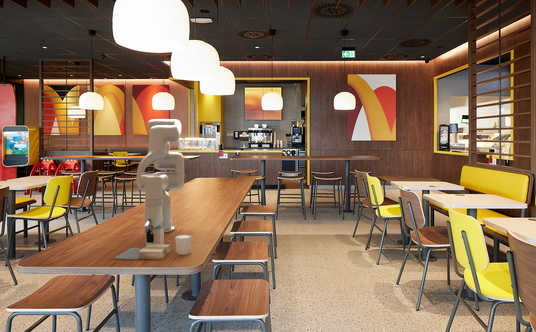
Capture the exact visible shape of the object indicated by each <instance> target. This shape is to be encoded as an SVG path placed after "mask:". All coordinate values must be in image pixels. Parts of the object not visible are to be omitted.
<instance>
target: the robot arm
mask: <svg viewBox="0 0 536 332" xmlns="http://www.w3.org/2000/svg"><path fill="white" fill-rule="evenodd" d="M146 125H147V131H148V133H149V136H148V137H149V138H148V152H147V154H146V155H145V156H144V157H143V158H142V159H141V160H140V162H139V164H138V166H137V171H136V172H137V173H136V187H137V188H138V189H139V190H144V200H145V201H144V205H145V208H144V219H143V221H144V223H143V225H144V226H143V227H144V232H145V231H146V242H147V243H153V242H154V234H153V230H154V229H155V228H157V227H158V226H164V234H165V233H170V232H173V231H175V226H173V225H172V223H173V220H172V198H171V195H170V194H169V192H168V191H169V190H170V191H172V190H173V191H175V190H182V189H183V188H184V186H185V158H184V155H183V154H182V153H181V152H177V151H175V152H174V151H173V152H171V143H177V142H179V140H180V138H181V133H182V123H181V121H180V120H179V119H174V118H173V119H172V118H171V119H169V118H168V119H167V118H155V119H150V120H148V121H147V124H146ZM152 164H153V167H154V168H155V170H161V171H159V172H154V173H145V171H146V169H147V167H148V166H150V165H152ZM165 170H166V171H165ZM171 170H173V171H171ZM150 229H151V230H150ZM146 242H145V243H146Z"/></svg>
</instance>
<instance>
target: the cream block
mask: <svg viewBox="0 0 536 332" xmlns="http://www.w3.org/2000/svg"><path fill="white" fill-rule="evenodd" d="M150 230H151V229H150ZM144 233H145V234H144V237H145V238H144V240H145V247H146V246H148V245H149V244H165V233H164V226H158V227H157V228H155V229H154V230H153V234H154V242H153V243H147V242H146V231H145V230H144Z"/></svg>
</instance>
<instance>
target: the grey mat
mask: <svg viewBox="0 0 536 332" xmlns="http://www.w3.org/2000/svg"><path fill="white" fill-rule="evenodd" d="M143 248H144V247H130V248H129V249H127V250H125V251H123V252H122V253H119V254H118V255H116V256H115V257H113V260H122V261H123V260H125V261H126V260H127V261H138V260H140V259H139V251H140V250H142V249H143Z"/></svg>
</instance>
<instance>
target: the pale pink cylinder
mask: <svg viewBox="0 0 536 332" xmlns="http://www.w3.org/2000/svg"><path fill="white" fill-rule="evenodd" d="M174 240H175V249H176V254H177V255H178V256H179V255H180V256H182V255H188V254H190V253H191V244H192V235H189V234H179V235H176V236H175V237H174Z"/></svg>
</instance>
